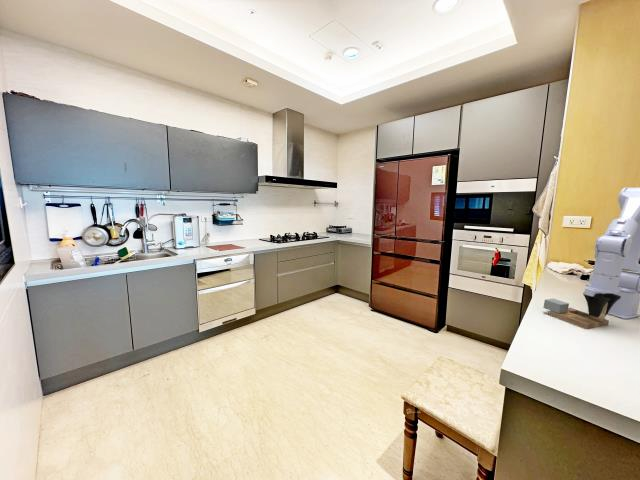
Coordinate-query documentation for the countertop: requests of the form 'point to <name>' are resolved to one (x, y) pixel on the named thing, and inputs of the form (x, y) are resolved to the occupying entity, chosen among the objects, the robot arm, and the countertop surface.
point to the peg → (602, 315)
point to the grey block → (556, 305)
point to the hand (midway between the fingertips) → (597, 315)
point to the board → (578, 318)
